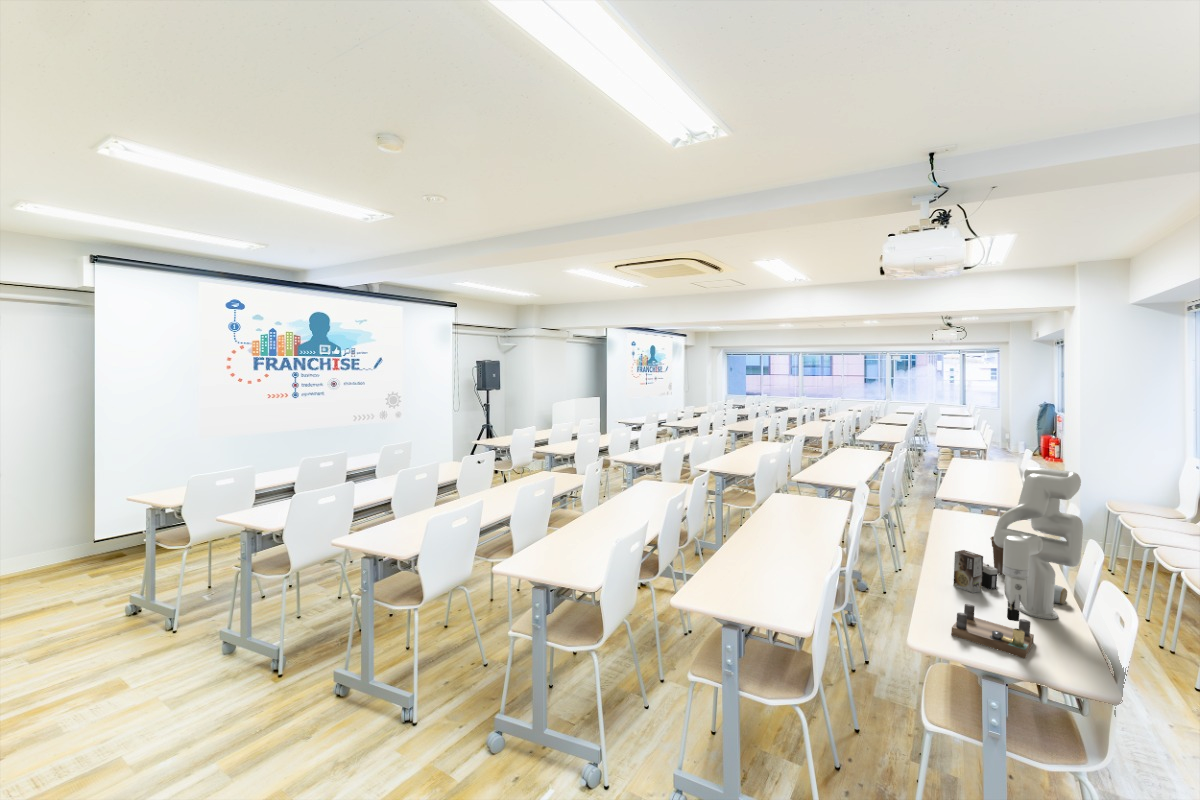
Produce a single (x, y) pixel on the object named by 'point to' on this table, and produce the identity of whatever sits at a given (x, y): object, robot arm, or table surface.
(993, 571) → the camera
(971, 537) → the table surface
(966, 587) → the coffee box
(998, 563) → the plant pot
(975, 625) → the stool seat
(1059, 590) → the ceramic mug
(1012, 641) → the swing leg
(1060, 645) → the table surface
